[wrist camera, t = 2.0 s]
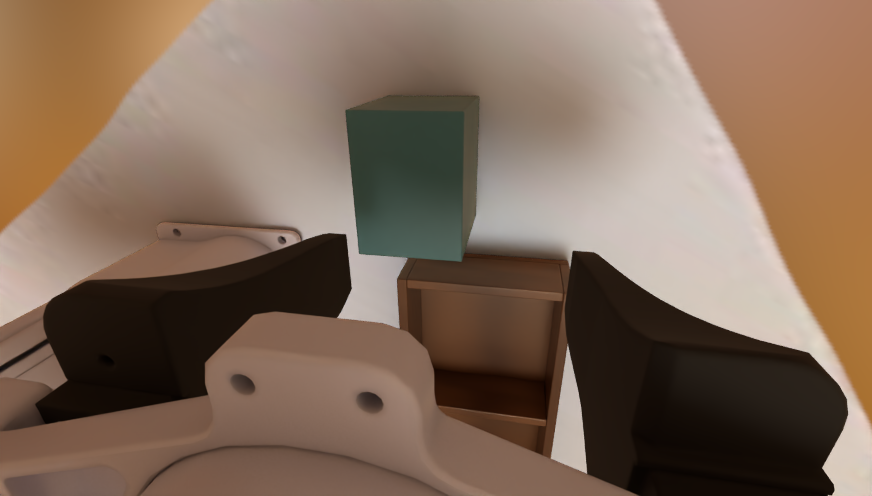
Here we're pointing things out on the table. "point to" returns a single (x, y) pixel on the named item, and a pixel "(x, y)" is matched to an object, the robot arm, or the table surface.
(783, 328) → the table surface
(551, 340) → the organizer
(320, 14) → the table surface
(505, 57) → the table surface
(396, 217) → the teal box
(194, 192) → the table surface
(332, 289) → the robot arm
